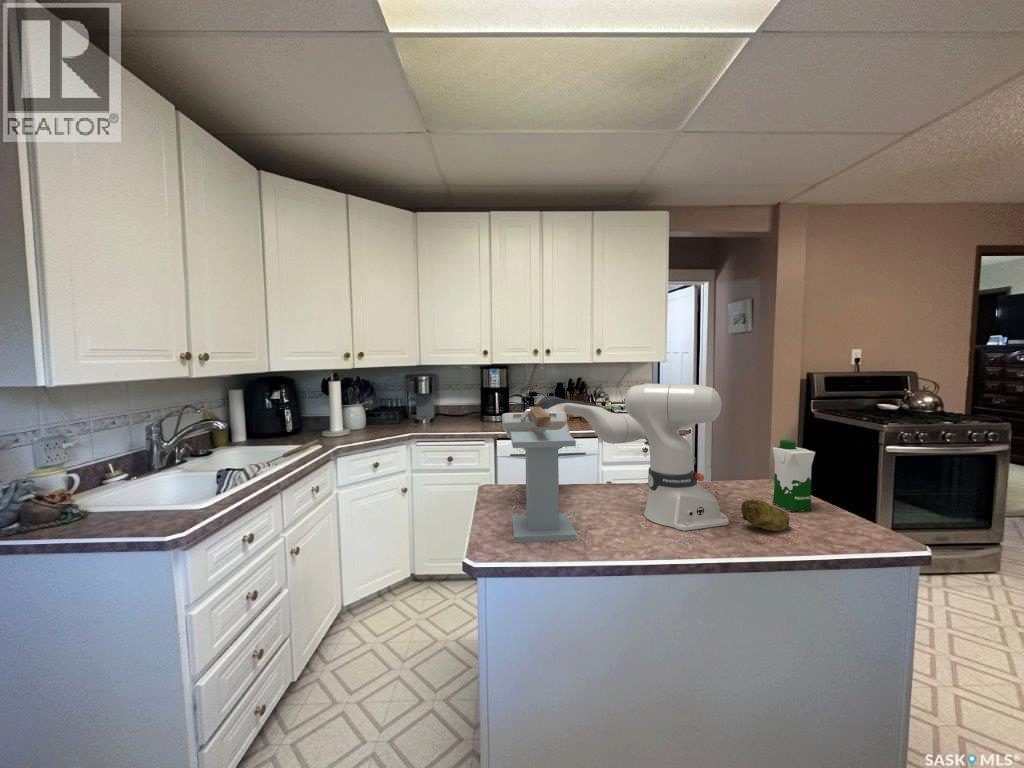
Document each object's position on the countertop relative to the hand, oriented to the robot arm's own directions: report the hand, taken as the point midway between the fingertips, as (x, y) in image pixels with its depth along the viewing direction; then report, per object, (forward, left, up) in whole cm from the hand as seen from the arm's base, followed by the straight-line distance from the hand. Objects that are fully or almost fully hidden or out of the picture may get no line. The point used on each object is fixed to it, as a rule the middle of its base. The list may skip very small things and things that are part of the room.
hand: (536, 411), depth 119 cm
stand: (0, +11, -31) cm, 33 cm away
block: (0, +6, -2) cm, 6 cm away
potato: (-60, +16, -31) cm, 70 cm away
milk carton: (-78, +2, -31) cm, 84 cm away
